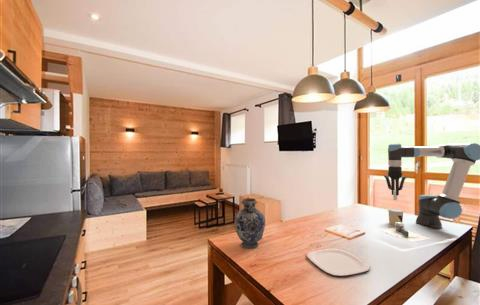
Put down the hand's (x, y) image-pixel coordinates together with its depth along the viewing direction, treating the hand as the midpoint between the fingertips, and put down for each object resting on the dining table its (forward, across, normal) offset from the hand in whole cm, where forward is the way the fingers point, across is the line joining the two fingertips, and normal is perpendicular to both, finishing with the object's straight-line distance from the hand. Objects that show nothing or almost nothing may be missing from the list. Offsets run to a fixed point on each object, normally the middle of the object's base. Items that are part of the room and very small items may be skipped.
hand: (395, 199), depth 156 cm
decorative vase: (+21, -47, -94) cm, 107 cm away
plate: (+23, -3, -72) cm, 76 cm away
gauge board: (+23, +6, -4) cm, 24 cm away
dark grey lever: (+21, +5, -3) cm, 22 cm away
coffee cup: (+23, -5, +14) cm, 28 cm away
